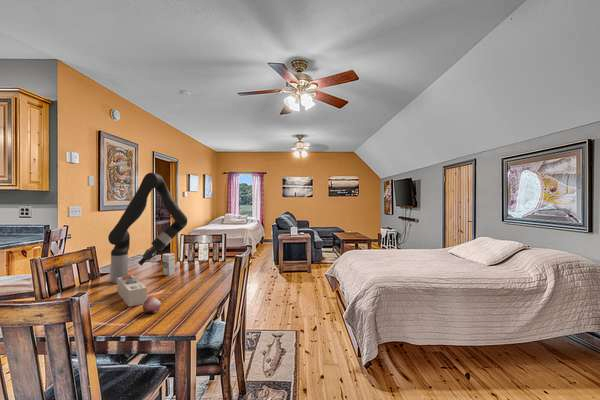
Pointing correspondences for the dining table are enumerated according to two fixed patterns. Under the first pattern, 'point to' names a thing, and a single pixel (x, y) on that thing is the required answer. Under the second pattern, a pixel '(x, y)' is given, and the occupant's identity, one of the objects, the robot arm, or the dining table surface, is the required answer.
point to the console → (131, 291)
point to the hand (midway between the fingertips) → (139, 264)
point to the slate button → (130, 281)
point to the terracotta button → (126, 277)
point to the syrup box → (168, 264)
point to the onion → (151, 305)
